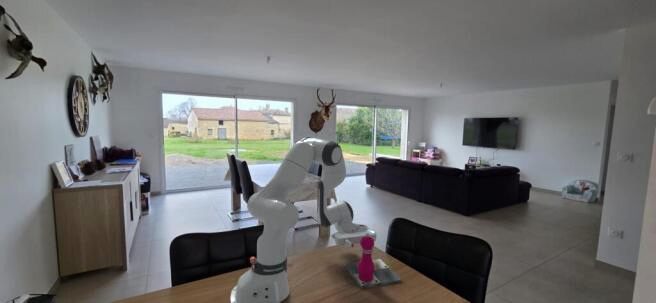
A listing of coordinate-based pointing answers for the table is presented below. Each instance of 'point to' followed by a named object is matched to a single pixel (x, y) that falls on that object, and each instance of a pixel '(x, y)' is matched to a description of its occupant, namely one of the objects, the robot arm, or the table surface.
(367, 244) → the pepper mill
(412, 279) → the table surface
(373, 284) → the tile board
